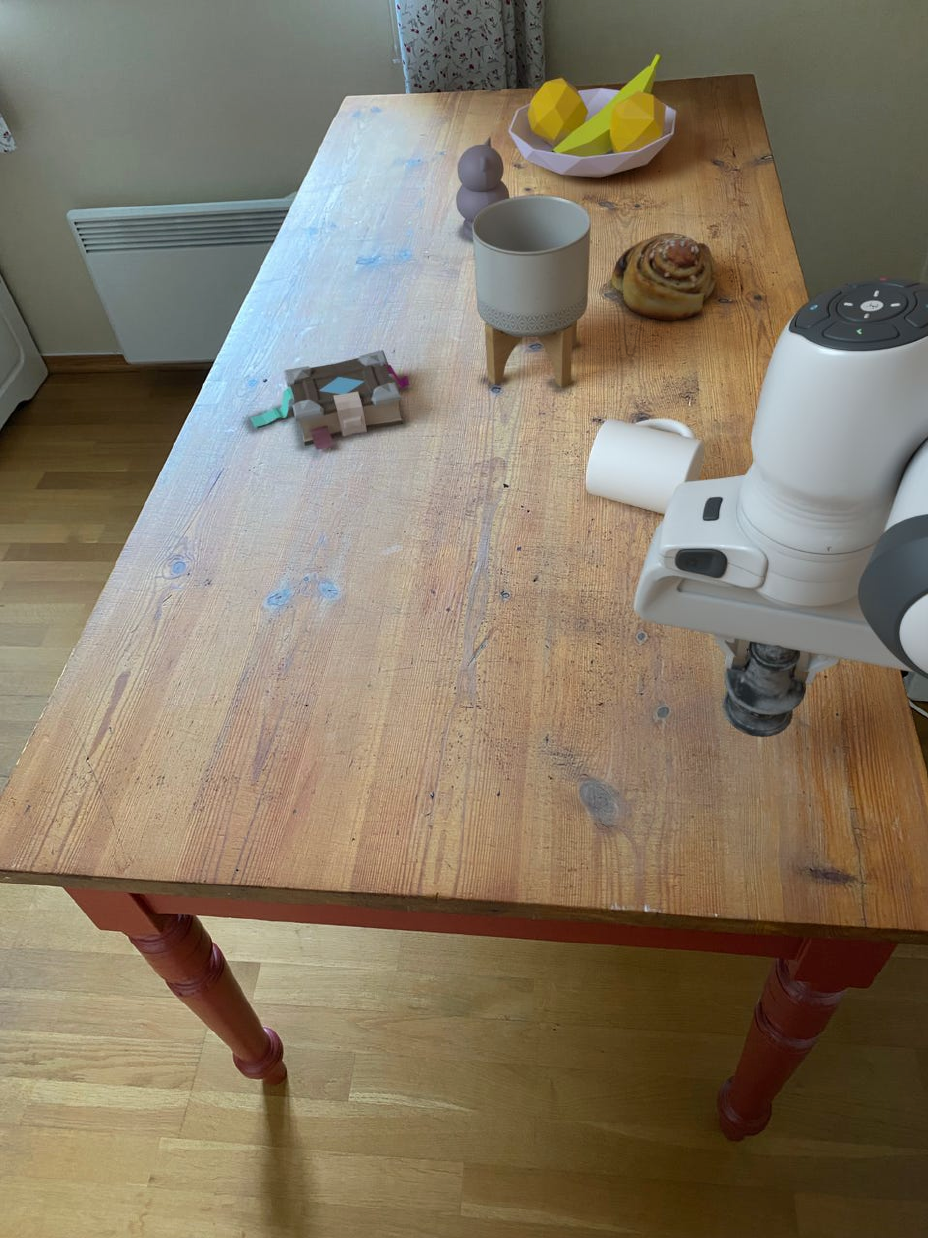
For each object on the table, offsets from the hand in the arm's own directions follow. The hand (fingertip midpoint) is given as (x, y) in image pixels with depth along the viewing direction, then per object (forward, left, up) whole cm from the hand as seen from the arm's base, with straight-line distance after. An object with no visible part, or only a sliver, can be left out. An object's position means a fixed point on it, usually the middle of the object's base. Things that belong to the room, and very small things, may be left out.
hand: (767, 669), depth 66 cm
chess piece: (0, 0, -5) cm, 5 cm away
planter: (+32, -49, -11) cm, 59 cm away
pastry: (+19, -69, -11) cm, 72 cm away
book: (+52, -33, -11) cm, 62 cm away
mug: (+14, -30, -11) cm, 35 cm away
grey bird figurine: (+48, -80, -11) cm, 94 cm away
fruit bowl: (+37, -107, -11) cm, 113 cm away
